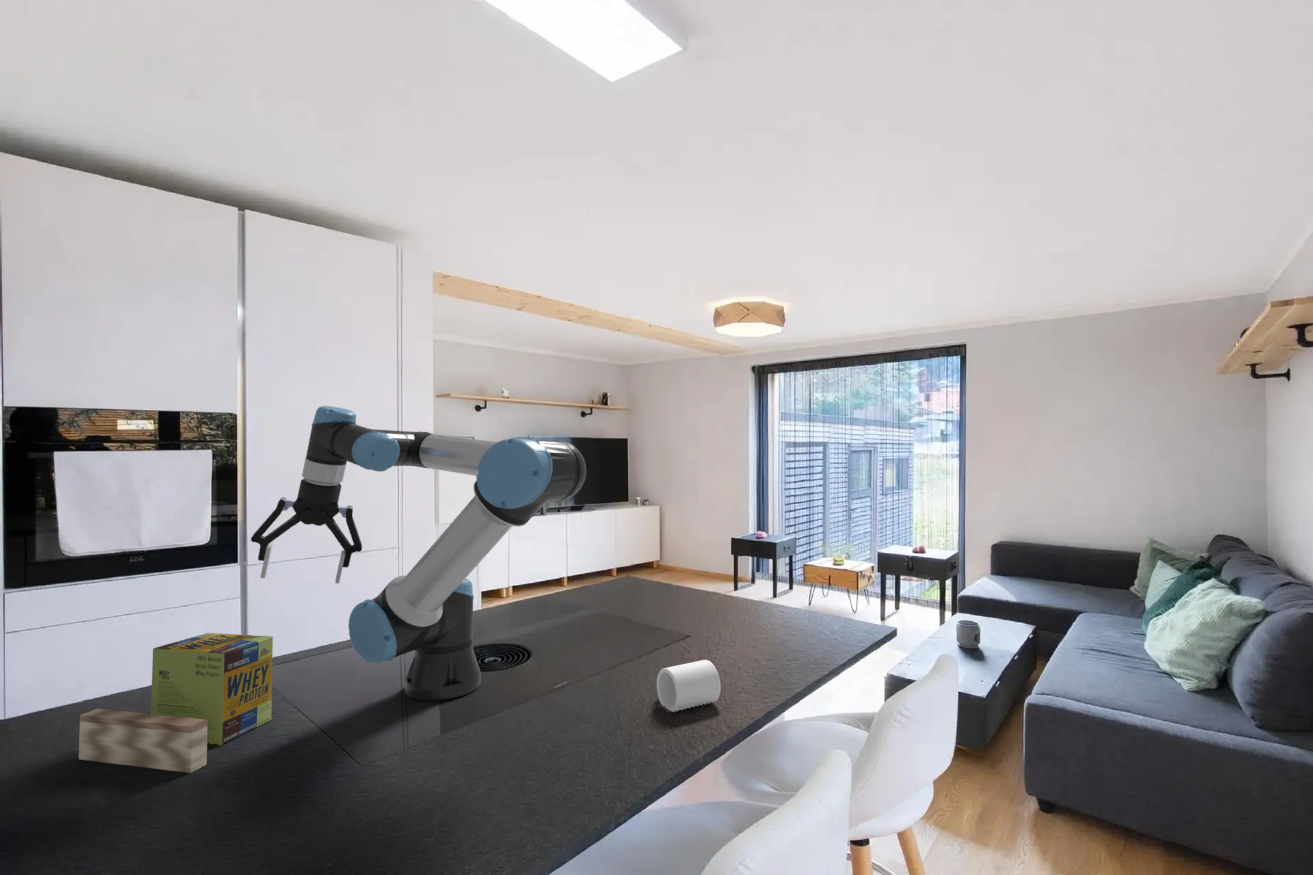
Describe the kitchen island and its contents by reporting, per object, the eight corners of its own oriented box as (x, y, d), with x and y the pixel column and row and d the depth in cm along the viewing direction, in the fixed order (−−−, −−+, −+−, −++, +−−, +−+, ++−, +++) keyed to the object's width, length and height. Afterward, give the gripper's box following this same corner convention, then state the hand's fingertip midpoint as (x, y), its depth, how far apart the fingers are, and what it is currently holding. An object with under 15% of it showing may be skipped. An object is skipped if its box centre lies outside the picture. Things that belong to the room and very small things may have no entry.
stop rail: (206, 764, 96) (207, 719, 96) (190, 772, 93) (191, 726, 93) (96, 751, 100) (97, 708, 100) (78, 759, 97) (80, 715, 98)
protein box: (222, 746, 102) (224, 653, 102) (148, 738, 105) (150, 647, 106) (273, 720, 112) (275, 635, 113) (204, 713, 115) (206, 631, 116)
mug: (721, 707, 117) (721, 666, 117) (677, 719, 112) (677, 675, 112) (687, 687, 127) (687, 649, 128) (646, 697, 122) (646, 657, 122)
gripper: (386, 485, 134) (366, 576, 136) (254, 467, 123) (234, 566, 124) (387, 493, 127) (366, 589, 129) (247, 475, 116) (226, 580, 118)
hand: (301, 578), depth 127 cm, fingers open, 13 cm apart
